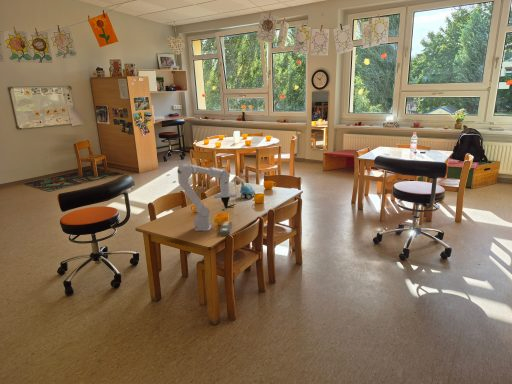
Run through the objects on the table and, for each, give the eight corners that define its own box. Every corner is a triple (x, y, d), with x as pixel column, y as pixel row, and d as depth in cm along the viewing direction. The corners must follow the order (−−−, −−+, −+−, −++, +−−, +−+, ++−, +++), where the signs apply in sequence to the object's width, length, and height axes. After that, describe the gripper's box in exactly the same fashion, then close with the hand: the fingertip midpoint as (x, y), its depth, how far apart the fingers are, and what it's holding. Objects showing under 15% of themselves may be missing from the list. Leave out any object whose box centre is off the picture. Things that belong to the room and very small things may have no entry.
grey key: (223, 228, 216) (223, 225, 215) (223, 226, 219) (223, 223, 218) (228, 228, 216) (227, 225, 215) (228, 226, 219) (228, 223, 218)
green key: (222, 233, 211) (221, 230, 210) (222, 231, 214) (222, 228, 213) (227, 233, 211) (226, 230, 210) (227, 231, 214) (227, 228, 213)
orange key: (224, 226, 222) (224, 223, 221) (225, 224, 224) (224, 221, 224) (229, 226, 221) (228, 223, 221) (229, 224, 224) (229, 221, 224)
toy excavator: (238, 194, 288) (237, 174, 283) (256, 196, 281) (255, 175, 275) (233, 197, 280) (232, 177, 275) (251, 199, 273) (250, 178, 268)
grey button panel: (219, 235, 211) (219, 231, 210) (222, 225, 225) (222, 221, 225) (229, 235, 210) (229, 231, 210) (232, 225, 225) (231, 221, 224)
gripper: (236, 185, 226) (237, 205, 230) (214, 186, 226) (216, 206, 230) (235, 189, 219) (237, 209, 223) (212, 189, 220) (214, 210, 224)
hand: (226, 208), depth 226 cm, fingers closed
